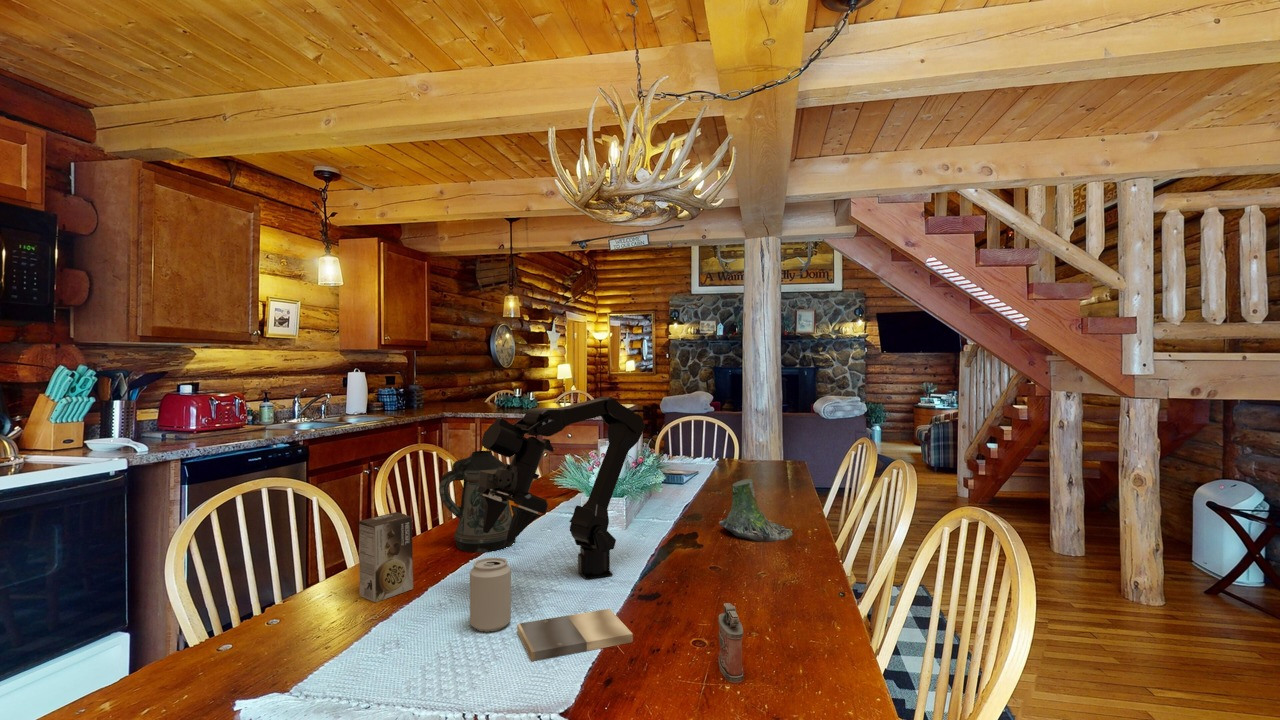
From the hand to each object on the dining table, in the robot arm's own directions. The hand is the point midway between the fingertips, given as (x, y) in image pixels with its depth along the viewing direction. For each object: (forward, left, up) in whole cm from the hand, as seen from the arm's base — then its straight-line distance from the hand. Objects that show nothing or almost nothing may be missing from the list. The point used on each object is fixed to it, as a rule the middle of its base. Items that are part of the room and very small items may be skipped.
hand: (496, 537), depth 128 cm
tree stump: (-77, -23, -14) cm, 82 cm away
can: (+3, +10, -14) cm, 17 cm away
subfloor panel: (-10, +21, -13) cm, 27 cm away
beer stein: (-3, -42, -14) cm, 44 cm away
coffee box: (+21, -15, -14) cm, 29 cm away
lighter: (-30, +42, -14) cm, 54 cm away
